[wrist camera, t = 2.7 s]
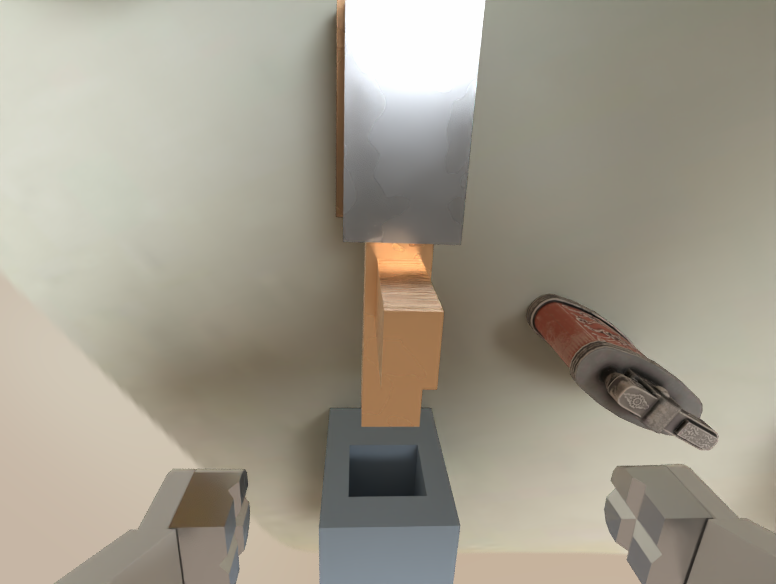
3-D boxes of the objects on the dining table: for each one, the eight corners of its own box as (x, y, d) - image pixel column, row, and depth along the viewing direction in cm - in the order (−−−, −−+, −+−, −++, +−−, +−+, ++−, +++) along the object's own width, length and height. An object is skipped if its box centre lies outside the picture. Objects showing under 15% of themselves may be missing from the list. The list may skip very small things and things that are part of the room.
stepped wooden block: (370, 2, 20) (380, -73, 12) (440, 7, 21) (497, -65, 12) (360, 394, 27) (362, 520, 19) (413, 394, 27) (437, 519, 19)
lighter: (515, 324, 31) (583, 414, 22) (547, 282, 30) (630, 358, 21) (607, 376, 33) (705, 480, 24) (639, 338, 32) (754, 430, 23)
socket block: (330, 408, 33) (319, 528, 23) (431, 408, 33) (460, 525, 24) (329, 483, 35) (319, 620, 26) (424, 482, 36) (449, 616, 26)
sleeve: (339, 8, 24) (331, -42, 16) (455, 15, 25) (501, -30, 17) (338, 204, 28) (331, 241, 20) (440, 207, 28) (472, 244, 20)
